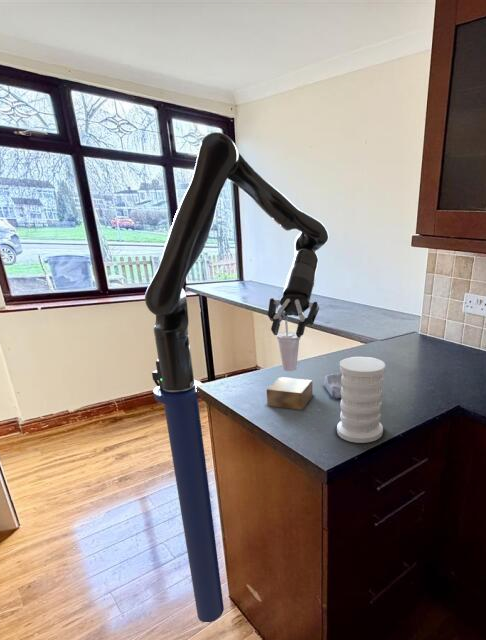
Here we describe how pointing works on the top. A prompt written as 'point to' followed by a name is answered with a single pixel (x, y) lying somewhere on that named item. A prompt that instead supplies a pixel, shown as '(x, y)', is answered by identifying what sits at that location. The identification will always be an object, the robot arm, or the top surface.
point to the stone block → (333, 385)
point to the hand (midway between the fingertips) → (286, 334)
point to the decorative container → (361, 399)
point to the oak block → (289, 393)
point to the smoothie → (288, 349)
